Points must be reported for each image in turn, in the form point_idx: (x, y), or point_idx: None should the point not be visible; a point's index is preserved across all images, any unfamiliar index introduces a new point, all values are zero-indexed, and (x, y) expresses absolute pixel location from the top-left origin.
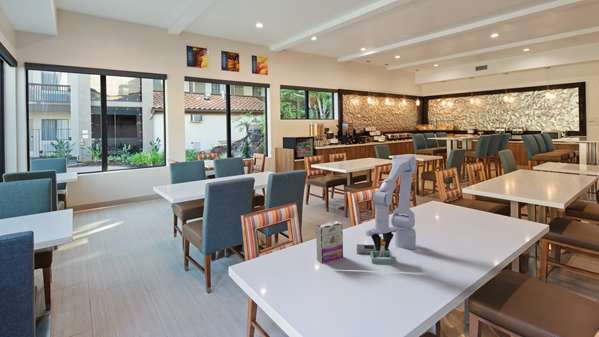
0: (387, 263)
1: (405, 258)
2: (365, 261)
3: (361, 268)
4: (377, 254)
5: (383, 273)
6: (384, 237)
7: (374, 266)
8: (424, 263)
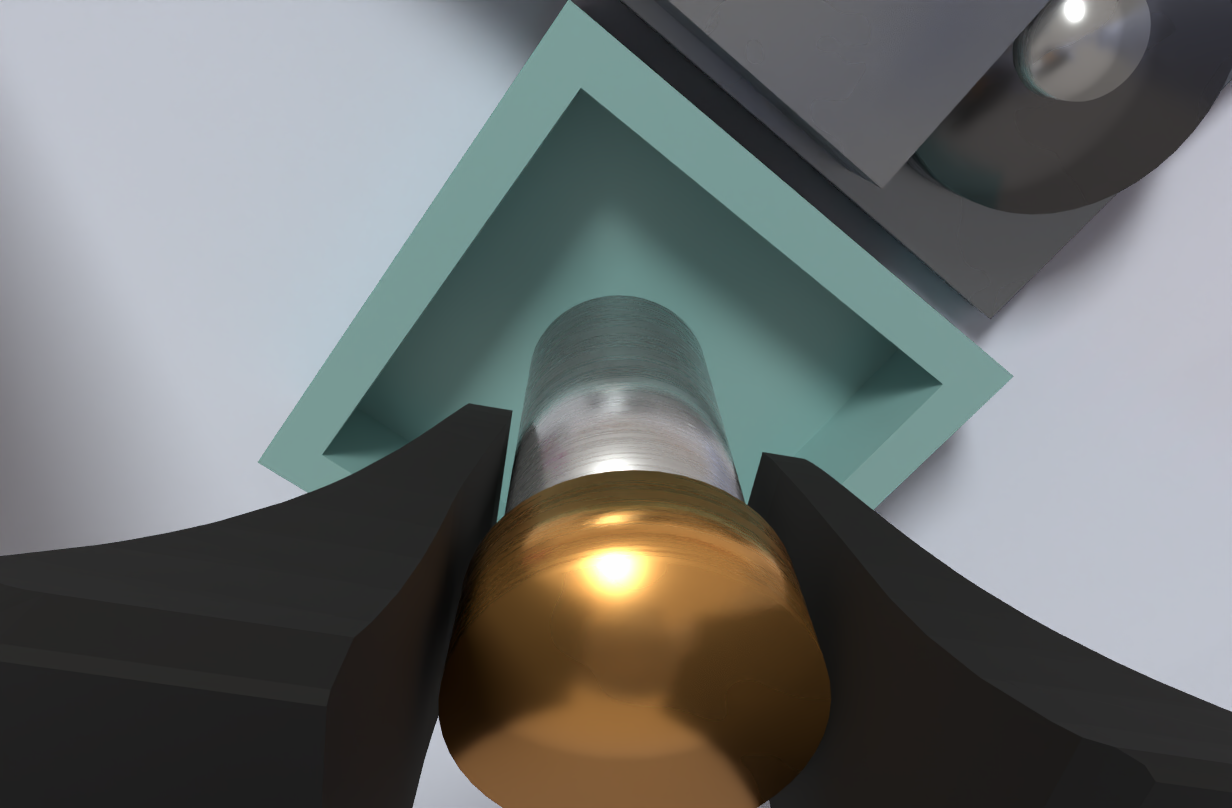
0: None
1: (1105, 537)
2: (262, 213)
3: (8, 437)
4: (531, 369)
5: None
6: (886, 744)
7: None
8: None
